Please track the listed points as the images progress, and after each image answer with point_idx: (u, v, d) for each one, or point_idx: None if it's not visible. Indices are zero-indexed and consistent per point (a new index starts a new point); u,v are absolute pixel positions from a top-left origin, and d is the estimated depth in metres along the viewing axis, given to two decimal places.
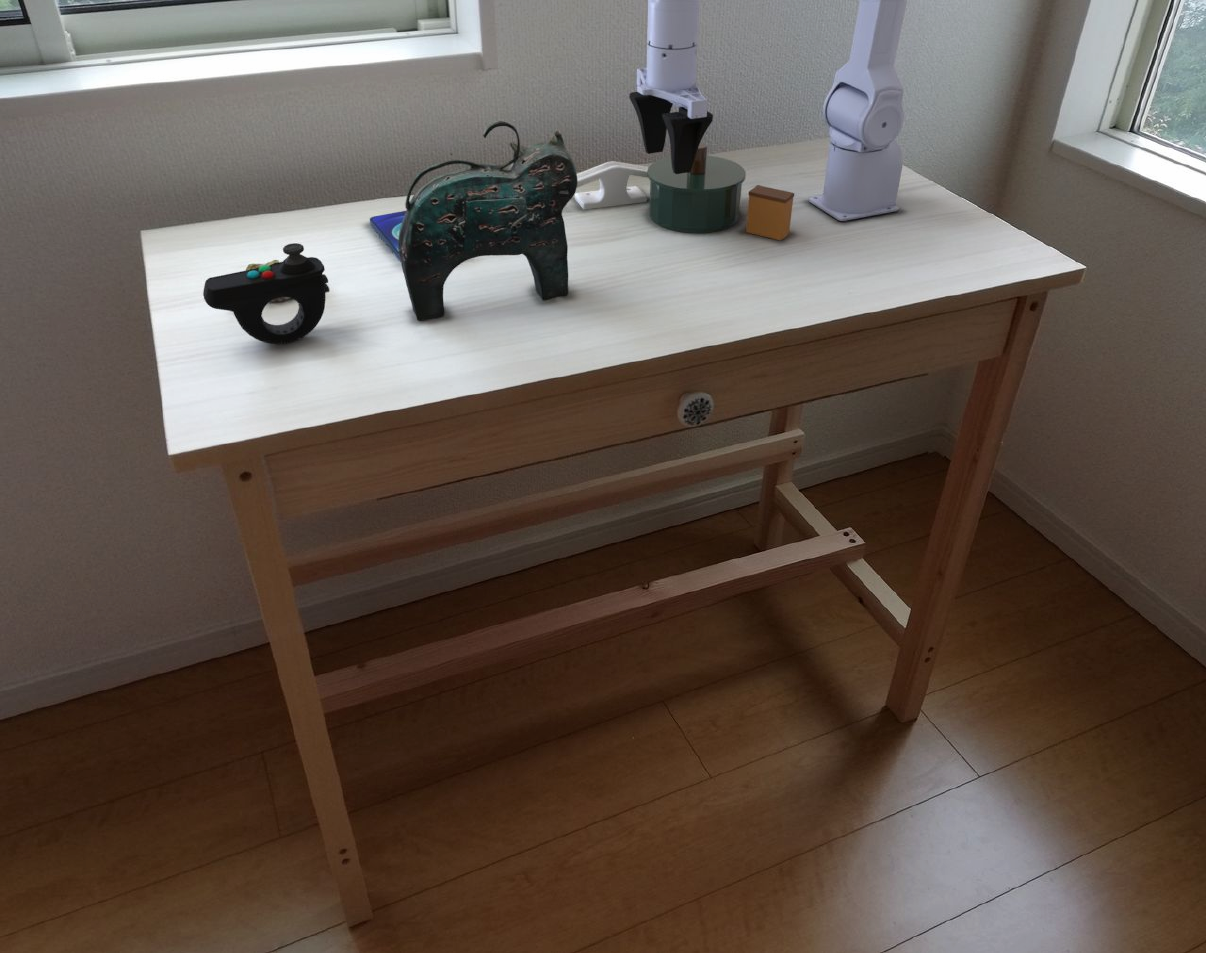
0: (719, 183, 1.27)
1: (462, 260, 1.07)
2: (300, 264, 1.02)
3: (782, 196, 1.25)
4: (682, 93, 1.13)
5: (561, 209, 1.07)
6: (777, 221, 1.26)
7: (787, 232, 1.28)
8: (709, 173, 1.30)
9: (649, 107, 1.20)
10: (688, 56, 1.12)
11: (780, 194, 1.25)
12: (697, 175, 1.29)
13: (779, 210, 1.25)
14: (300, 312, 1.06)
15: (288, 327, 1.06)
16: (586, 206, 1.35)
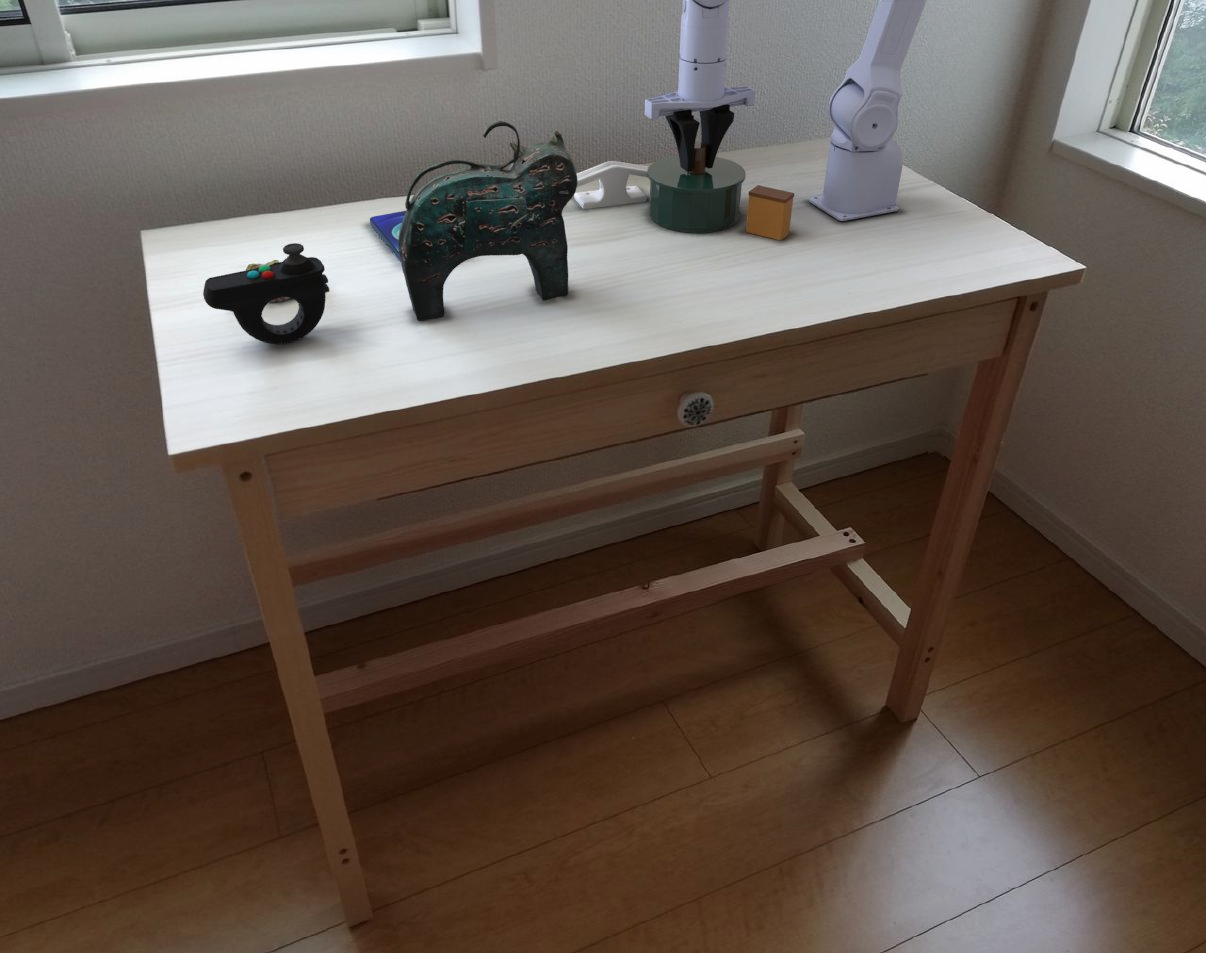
0: (719, 183, 1.27)
1: (462, 260, 1.07)
2: (300, 264, 1.02)
3: (782, 196, 1.25)
4: None
5: (561, 209, 1.07)
6: (777, 221, 1.26)
7: (787, 232, 1.28)
8: (709, 173, 1.30)
9: (705, 120, 1.28)
10: (685, 68, 1.21)
11: (780, 194, 1.25)
12: (697, 175, 1.29)
13: (779, 210, 1.25)
14: (300, 312, 1.06)
15: (288, 327, 1.06)
16: (586, 206, 1.35)
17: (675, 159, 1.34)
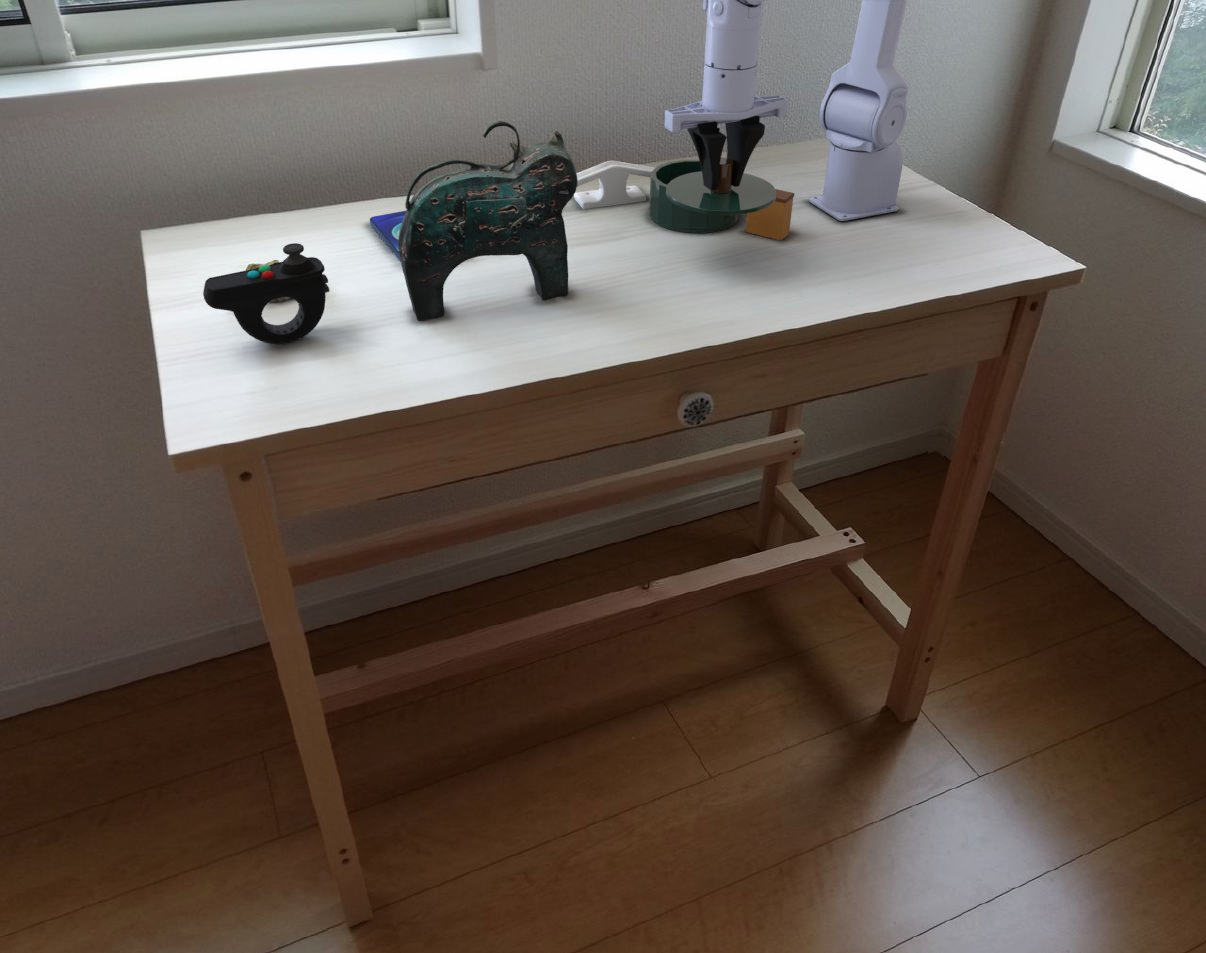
0: (747, 204, 1.13)
1: (462, 260, 1.07)
2: (300, 264, 1.02)
3: (782, 196, 1.25)
4: None
5: (561, 209, 1.07)
6: (777, 221, 1.26)
7: (787, 232, 1.28)
8: (735, 192, 1.16)
9: (731, 133, 1.14)
10: (710, 76, 1.07)
11: (780, 194, 1.25)
12: (722, 194, 1.15)
13: (779, 210, 1.25)
14: (300, 312, 1.06)
15: (288, 327, 1.06)
16: (585, 205, 1.36)
17: (697, 176, 1.20)
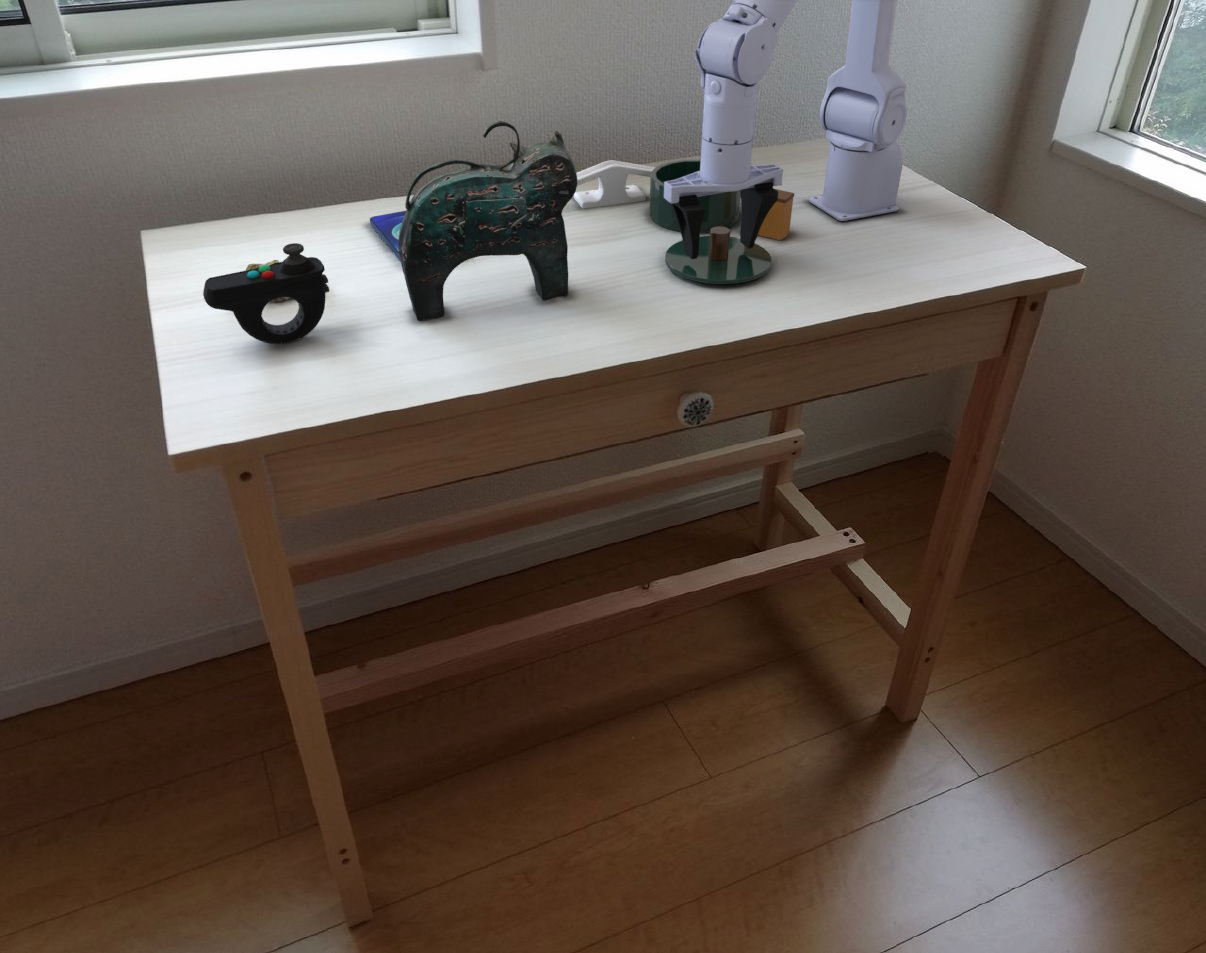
0: (743, 272, 1.17)
1: (462, 260, 1.07)
2: (300, 264, 1.02)
3: (782, 196, 1.25)
4: None
5: (561, 209, 1.07)
6: (777, 221, 1.26)
7: (787, 232, 1.28)
8: (732, 259, 1.20)
9: (746, 198, 1.19)
10: (708, 149, 1.11)
11: (780, 194, 1.25)
12: (719, 262, 1.19)
13: (779, 210, 1.25)
14: (300, 312, 1.06)
15: (288, 327, 1.06)
16: (585, 205, 1.36)
17: None
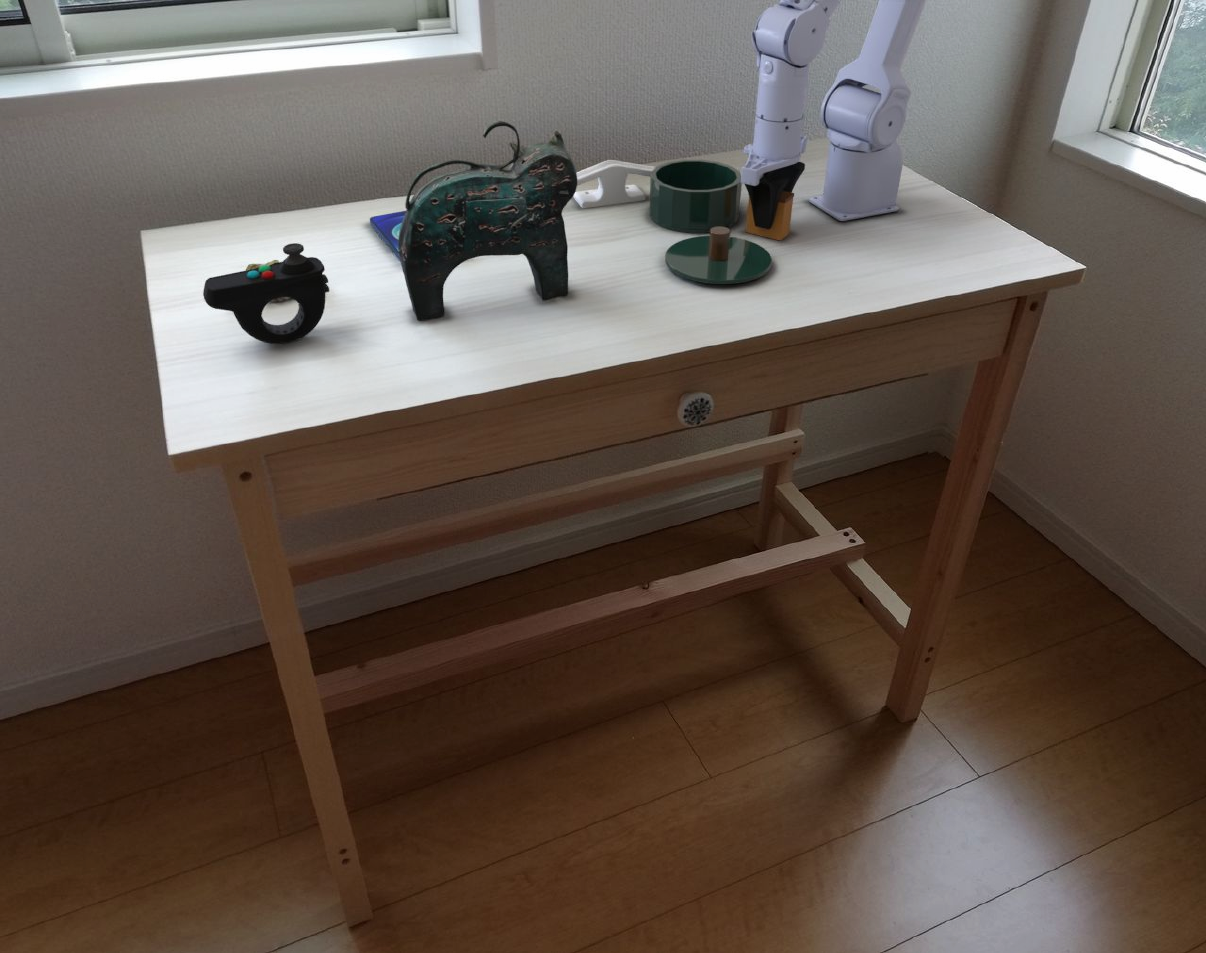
0: (743, 272, 1.17)
1: (462, 260, 1.07)
2: (300, 264, 1.02)
3: (782, 196, 1.25)
4: None
5: (561, 209, 1.07)
6: (777, 221, 1.26)
7: (787, 232, 1.28)
8: (732, 259, 1.20)
9: None
10: (774, 129, 1.19)
11: None
12: (719, 262, 1.19)
13: (779, 210, 1.25)
14: (300, 312, 1.06)
15: (288, 327, 1.06)
16: (585, 205, 1.36)
17: (695, 241, 1.24)
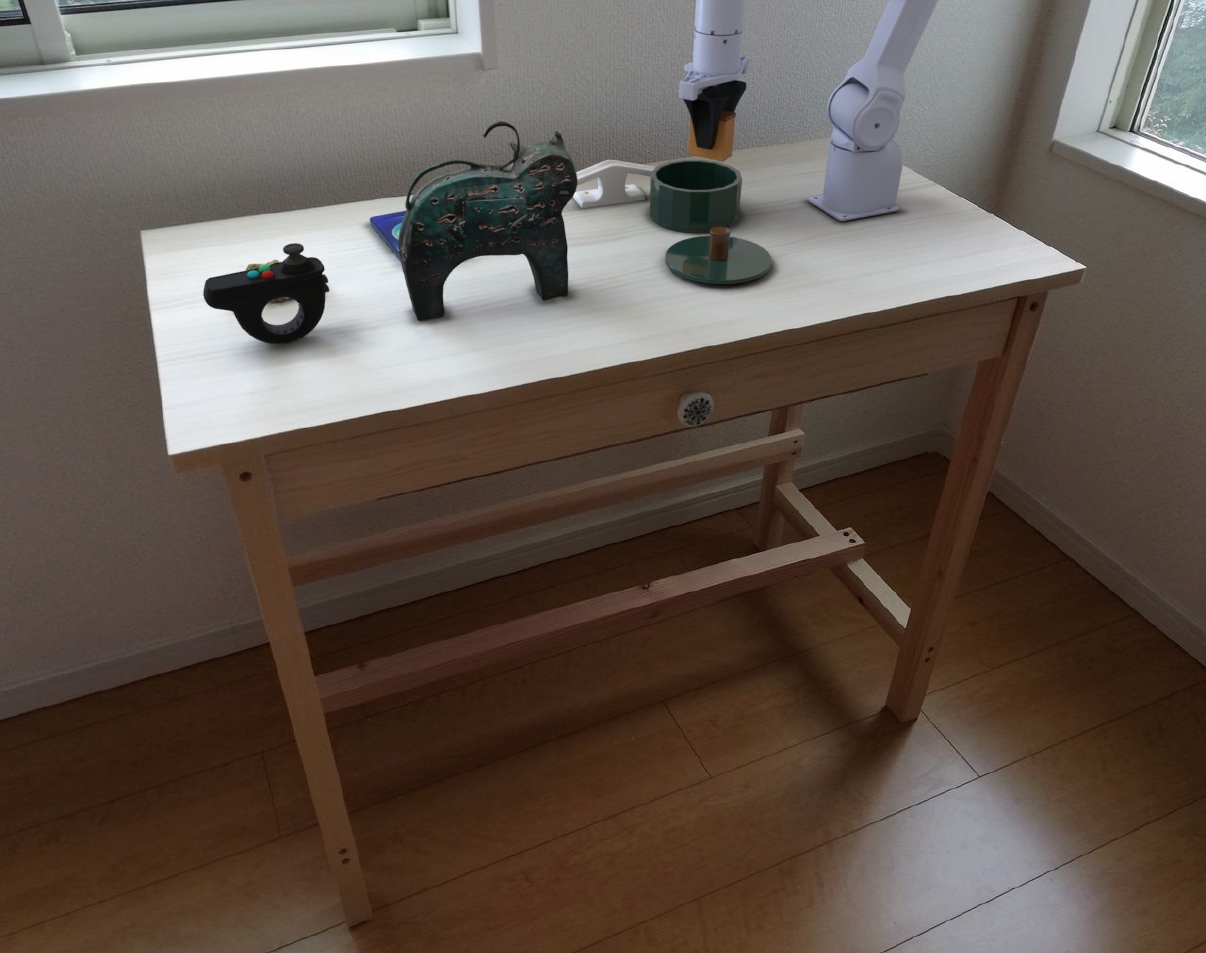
0: (743, 272, 1.17)
1: (462, 260, 1.07)
2: (300, 264, 1.02)
3: (723, 115, 1.23)
4: None
5: (561, 209, 1.07)
6: (719, 141, 1.25)
7: (730, 154, 1.27)
8: (732, 259, 1.20)
9: None
10: (712, 43, 1.17)
11: (721, 113, 1.24)
12: (719, 262, 1.19)
13: (721, 130, 1.24)
14: (300, 312, 1.06)
15: (288, 327, 1.06)
16: (585, 205, 1.36)
17: (695, 241, 1.24)
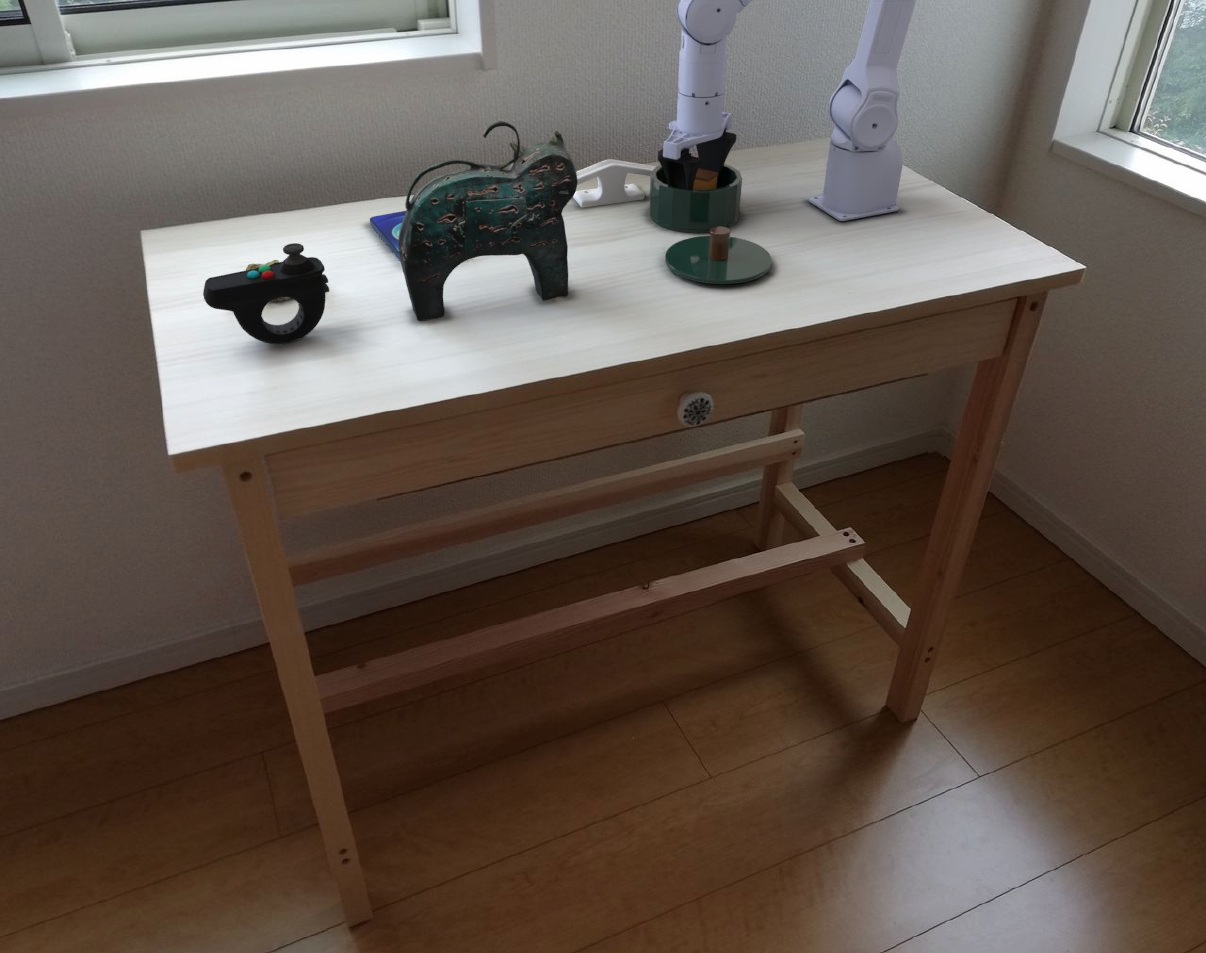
0: (743, 272, 1.17)
1: (462, 260, 1.07)
2: (300, 264, 1.02)
3: (705, 175, 1.29)
4: None
5: (561, 209, 1.07)
6: None
7: None
8: (732, 259, 1.20)
9: (704, 146, 1.32)
10: (694, 104, 1.23)
11: (704, 173, 1.30)
12: (719, 262, 1.19)
13: (703, 189, 1.29)
14: (300, 312, 1.06)
15: (288, 327, 1.06)
16: (584, 204, 1.36)
17: (695, 241, 1.24)
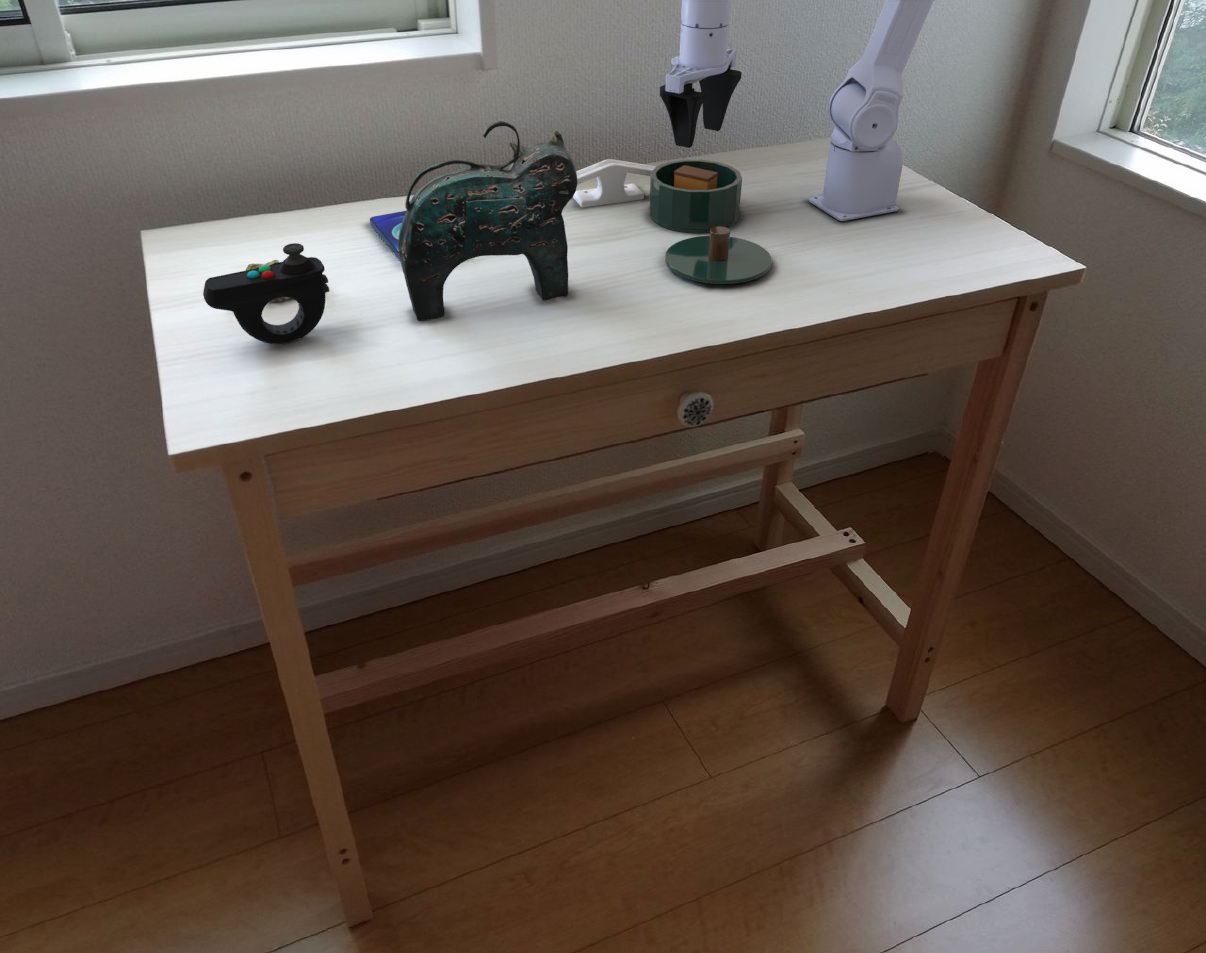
0: (743, 272, 1.17)
1: (462, 260, 1.07)
2: (300, 264, 1.02)
3: (705, 175, 1.29)
4: None
5: (561, 209, 1.07)
6: None
7: None
8: (732, 259, 1.20)
9: (708, 84, 1.27)
10: (698, 36, 1.18)
11: (704, 173, 1.30)
12: (719, 262, 1.19)
13: (703, 189, 1.29)
14: (300, 312, 1.06)
15: (288, 327, 1.06)
16: (584, 204, 1.36)
17: (695, 241, 1.24)
